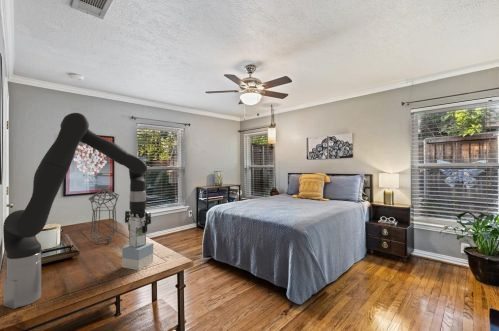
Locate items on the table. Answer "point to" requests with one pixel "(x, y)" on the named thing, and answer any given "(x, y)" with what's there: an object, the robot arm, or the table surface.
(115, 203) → the geometric lantern
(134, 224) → the syrup box
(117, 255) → the table surface
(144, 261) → the tower base block
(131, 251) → the tower top block
